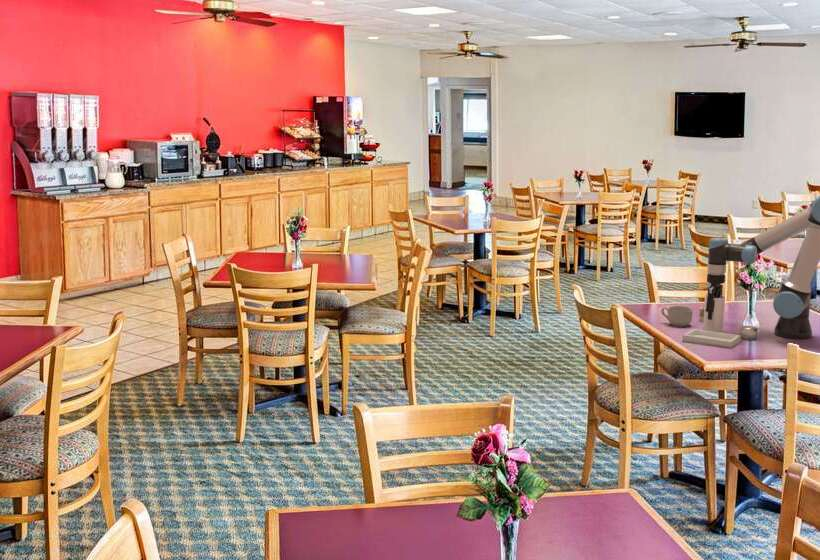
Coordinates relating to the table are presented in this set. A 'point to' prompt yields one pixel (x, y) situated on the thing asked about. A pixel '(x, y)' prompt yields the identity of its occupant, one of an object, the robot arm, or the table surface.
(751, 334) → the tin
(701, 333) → the tray
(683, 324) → the teacup
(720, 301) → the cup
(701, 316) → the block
